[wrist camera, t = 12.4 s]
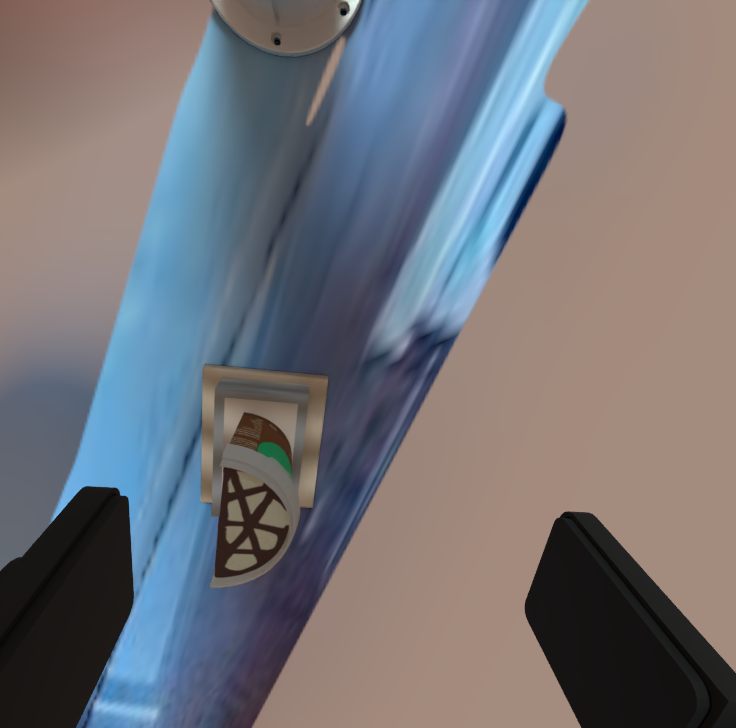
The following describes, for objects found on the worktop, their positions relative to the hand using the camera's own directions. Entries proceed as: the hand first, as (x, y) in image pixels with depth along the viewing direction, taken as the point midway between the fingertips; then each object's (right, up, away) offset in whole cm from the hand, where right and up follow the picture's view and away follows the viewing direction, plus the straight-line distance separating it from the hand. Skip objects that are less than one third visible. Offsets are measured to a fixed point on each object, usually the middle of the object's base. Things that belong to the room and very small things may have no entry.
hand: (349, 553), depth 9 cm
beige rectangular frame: (-11, -4, +35) cm, 37 cm away
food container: (-9, -5, +31) cm, 33 cm away
